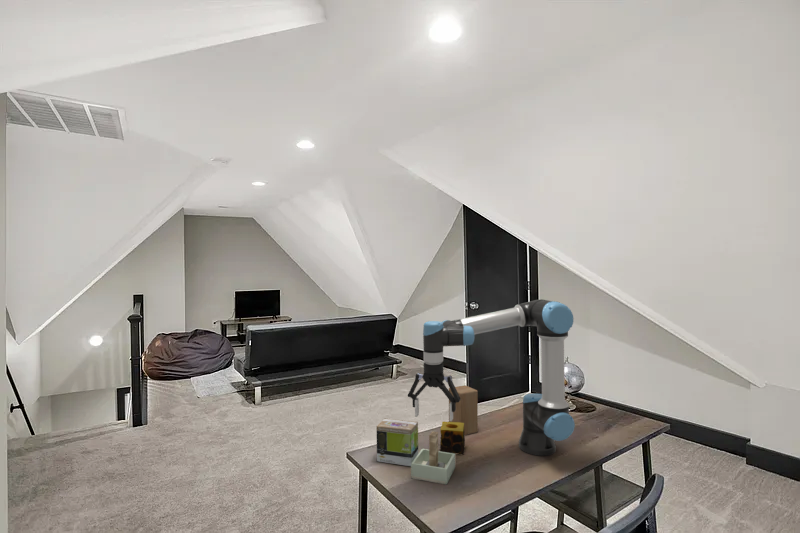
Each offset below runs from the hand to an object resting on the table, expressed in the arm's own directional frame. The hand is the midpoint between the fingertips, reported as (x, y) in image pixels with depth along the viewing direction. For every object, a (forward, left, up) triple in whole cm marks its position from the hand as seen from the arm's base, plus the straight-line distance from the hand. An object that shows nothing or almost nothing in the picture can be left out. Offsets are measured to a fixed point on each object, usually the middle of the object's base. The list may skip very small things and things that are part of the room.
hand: (433, 417), depth 165 cm
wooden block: (-2, -44, -21) cm, 49 cm away
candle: (-2, -23, -22) cm, 32 cm away
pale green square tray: (0, 0, -21) cm, 21 cm away
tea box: (+17, -6, -21) cm, 28 cm away
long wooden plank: (0, 0, -20) cm, 20 cm away
